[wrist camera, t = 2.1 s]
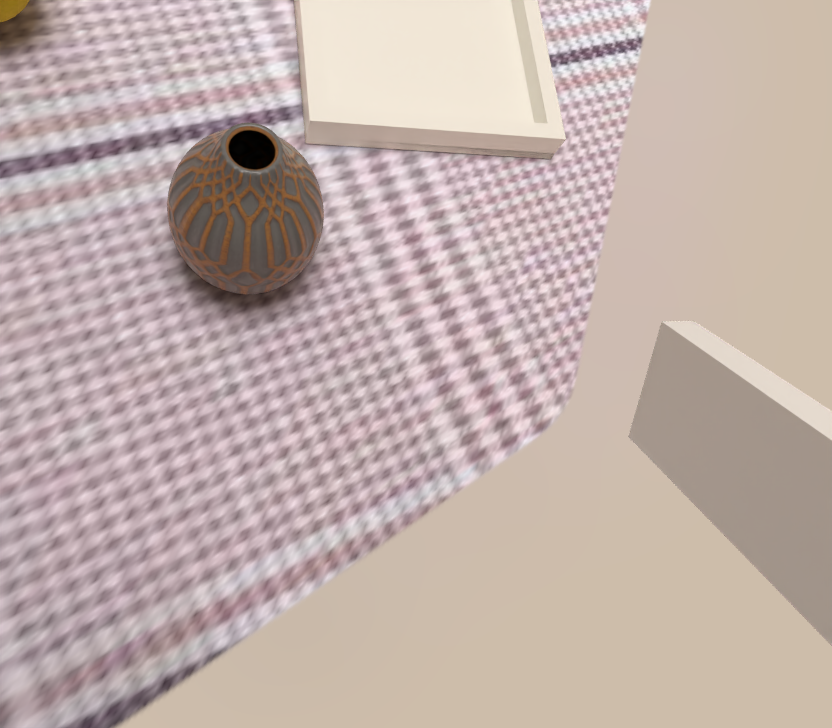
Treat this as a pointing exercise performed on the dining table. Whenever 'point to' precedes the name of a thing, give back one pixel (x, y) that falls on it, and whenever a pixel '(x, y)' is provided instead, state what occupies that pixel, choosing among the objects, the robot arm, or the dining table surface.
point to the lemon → (11, 8)
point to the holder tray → (428, 76)
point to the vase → (245, 210)
